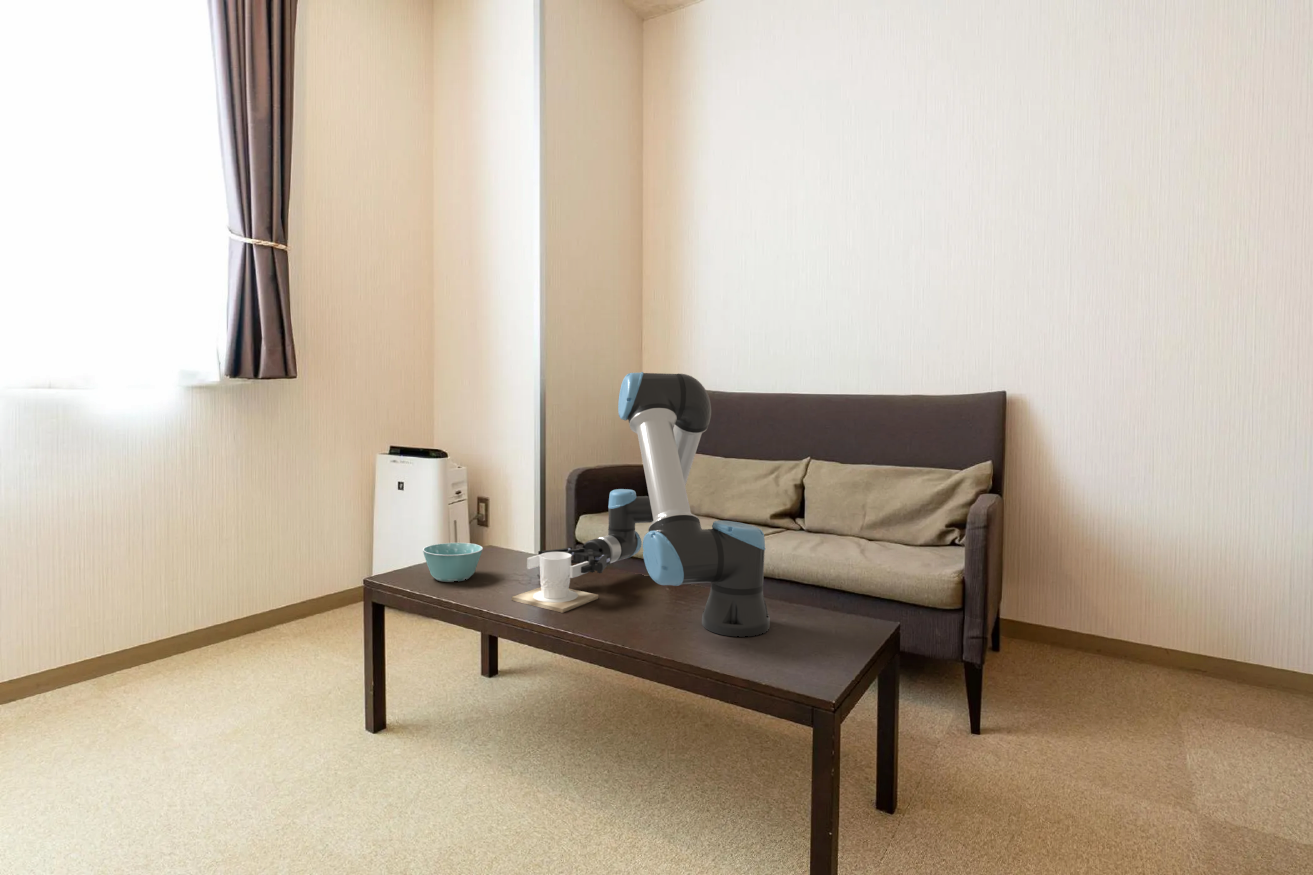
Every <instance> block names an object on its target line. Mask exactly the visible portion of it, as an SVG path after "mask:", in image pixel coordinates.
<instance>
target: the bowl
mask: <svg viewBox="0 0 1313 875" xmlns="http://www.w3.org/2000/svg"><path fill="white" fill-rule="evenodd" d="M483 550H484V548H483V546H481V545H479V544H476V543H470V542H469V543H468V542H445V543H443V542H442V543H436V544H435V543H434V544H431V545H430V544H429V545H427V546H424V547H423V548H422V553H423V555H424V559H425V561H426V565H427V567H428V570H429V572H430V575H431V576H432V577H433V578H434V579H435V580H436V581H439V582H445V583H455V582H454V581H458V582H463V581H466V580H468V579H470V578H471V577H472V576H473V575H474V574H475V572H476V569H477V567H478V563H479V560H480V558H481V555H482V553H483ZM465 579H466V580H465Z"/></svg>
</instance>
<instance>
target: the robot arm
mask: <svg viewBox="0 0 1313 875" xmlns="http://www.w3.org/2000/svg"><path fill="white" fill-rule="evenodd" d="M618 396H619V397H618V405H617V406H618V407H617V408H618V411H617V412H618V417H619V418H620V420H623V421H628V425H629V428H630V431H632V432H633V433H635V434H636V435H637V440H638V444H639V450H640V454H641V455H640V457H641V461H642V465H643V470H644V472H643V473H644V476H645V482H646V487H647V488H646V489H647V493H648V496H647V495H644V496H643V495H641V496H639V495H638V496H637V493H636V491H635V490H633V489H628V488H627V489H626V488H625V489H624V488H618V489H617V488H616V489H613V490H611V491H610V492H609V498H608V506H607V507H608V529H607V534H606V535H604V536H599V537H597V538H594V539H590V540H587V541H586V542H585V543H584V544H583V546H582V547H578V548H573V547H572V546H569V547H565V548H557V549H555V548H554V549H547V550H545V549H544V550H539V551H538V552H537V553H538V554H537V555H533V556H529V557H527V558H526V569H527V570H531V569H535V568H537V567H540V557H539V556H540V554H543V553H547V552H565V553H569V554H571V555H572V557H573V558H572V559H571V564H574V565H571V566H570V579H574V578H577V577H580V576H582V575H586V574H588V573H595V572H597V574H602V573H603V572H604V570H605V569H606V567H607V566H609V565H610V564H612V563H615V562H619V561H623V560H624V559H629V558H631V557H633V556H635V555H636V554H638V552H640V550H641V548H642V549H643V552H642V557H643V562H644V565H645V568H646V571H647V573H648V575H649V577H650V578H651V579H652V581H654V582H655V583H656V584H658V585H661V586H674V587H677V586H678V587H679V586H682V585H693V584H706V583H710V591H709V594H708V598H707V599H706V600H707V601H706V604H705V607H704V609H703V612H702V614H701V616H702V617H701V626H702V627H703V628H704V629H706V630H707V631H709V632H712V633H714V634H718V635H721V636H727V637H736V638H737V636H739V638H742V637H744V638H745V636H748V637H756V636H759V635H758V634H760V635H763V634H765V633H767V632H768V631H769V630H770V625H771V624H770V623H771V618H770V617H771V616H770V615H769V612H768V607H767V604H766V600H765V596H764V575H765V574H764V573H765V571H764V570H765V553H766V552H765V551H766V542H765V540H766V539H765V534H764V531H763V530H762V529H761V528H759V527H757V526H755V525H752V524H748V523H743V522H739V521H738V522H737V521H731V520H715V521H713V522H712V525H711V527H712V528H706V529H705V528H702V526H701V525H702V524H701V521H700V518H699V516H697V515H695V514H694V513H692V511H691V506H690V503H689V502H690V501H689V499H688V493H687V488H686V484H687V482H688V479H689V476H690V472H691V469H692V467H693V466H692V465H693V462H694V459H695V457H696V453H697V449H698V446H699V443H700V440H701V437H702V434H703V433H704V432H706V431H707V430H708V427H709V425H710V421H711V417H712V405H711V400H710V396H709V394H708V392H707V390H706V388H705V386H704V385H703V384H702V383H701V382H700V381H699V380H698V379H696V378H695V377H693V376H692V375H689V374H686V373H659V372H657V373H654V372H644V371H640V372H630V373H627V374H626V375H625V376H624V378H623V379H622V382H621V385H620V390H619V395H618ZM647 523H649V525H648V532H647V533H646V534H644V536H643V539H642V538H641V536H640V534H639V533H638V531H636V524H647ZM768 629H769V630H768ZM766 631H767V632H766ZM762 633H763V634H762ZM755 635H756V636H755Z"/></svg>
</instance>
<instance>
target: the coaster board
mask: <svg viewBox="0 0 1313 875" xmlns="http://www.w3.org/2000/svg"><path fill="white" fill-rule="evenodd" d="M598 599H599V594H596V593H591V592H587V591H583V590H582V591H581V590H578V589H573V588H569V594H568V596H567V597H564V598H559V599H549V598H544V597H543V596H541V586H540V587H537V588H533V589H531V590H528V591H525V592H522V593H518V594H517V595H514V596H511V601H514V602H517V603H522V604H525V605H528V606H533V607H537V608H542V609H545V610H550V611H553V612H558V613H565V612H568V611H570V610H573V609H576V608H578V607H581V606H584V605H586V604H588V603H591V602H593V601H595V600H598Z"/></svg>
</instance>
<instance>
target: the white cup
mask: <svg viewBox="0 0 1313 875" xmlns="http://www.w3.org/2000/svg"><path fill="white" fill-rule="evenodd" d="M539 557H540V566H539V577H540V578H539V579H540V580H539V581H540V582H539V583H540V587H541V596H543V597H544V598H549V599H559V598H564V597H567V596H568V594H569V589H570V588H569V587H570V584H571V578H570V566H572V563H571V560H573V558H572V557H573V555H571V554H569V553H565V552H547V553H543V554H540V556H539Z"/></svg>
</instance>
